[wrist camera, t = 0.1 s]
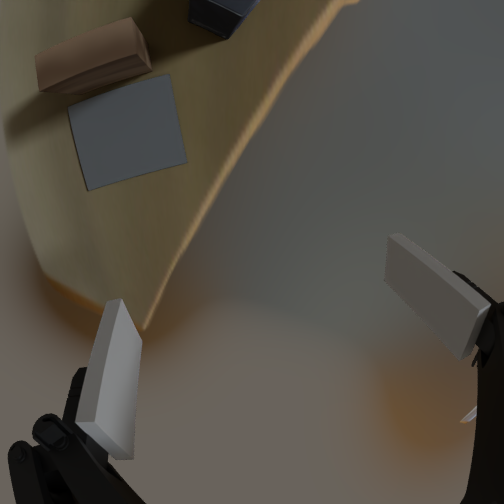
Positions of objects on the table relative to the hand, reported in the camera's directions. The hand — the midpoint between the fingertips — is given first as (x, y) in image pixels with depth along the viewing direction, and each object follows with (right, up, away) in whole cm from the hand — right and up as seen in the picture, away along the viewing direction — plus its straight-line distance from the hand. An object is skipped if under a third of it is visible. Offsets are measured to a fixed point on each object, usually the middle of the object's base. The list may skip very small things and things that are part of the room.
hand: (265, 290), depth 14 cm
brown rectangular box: (-18, +25, +16) cm, 34 cm away
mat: (-17, +17, +20) cm, 31 cm away
